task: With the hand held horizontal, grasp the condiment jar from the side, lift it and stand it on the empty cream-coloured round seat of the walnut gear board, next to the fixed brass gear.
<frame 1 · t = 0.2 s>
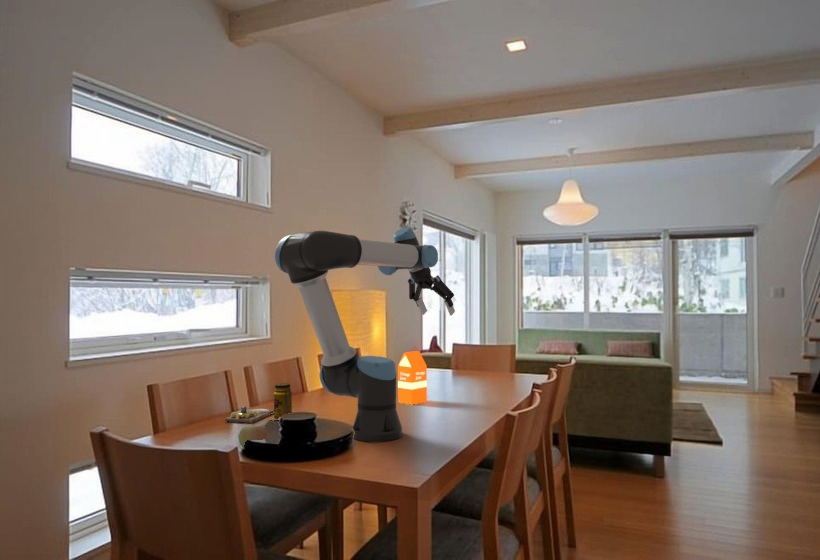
hand: (438, 313, 210), 35 cm above the table, tool tilted 35°, fingers open, 13 cm apart
condiment: (284, 419, 189), on the table
fruit: (253, 449, 151), on the table
orange juice: (412, 402, 216), on the table
gear board: (250, 417, 191), on the table
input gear: (243, 419, 188), resting on gear board
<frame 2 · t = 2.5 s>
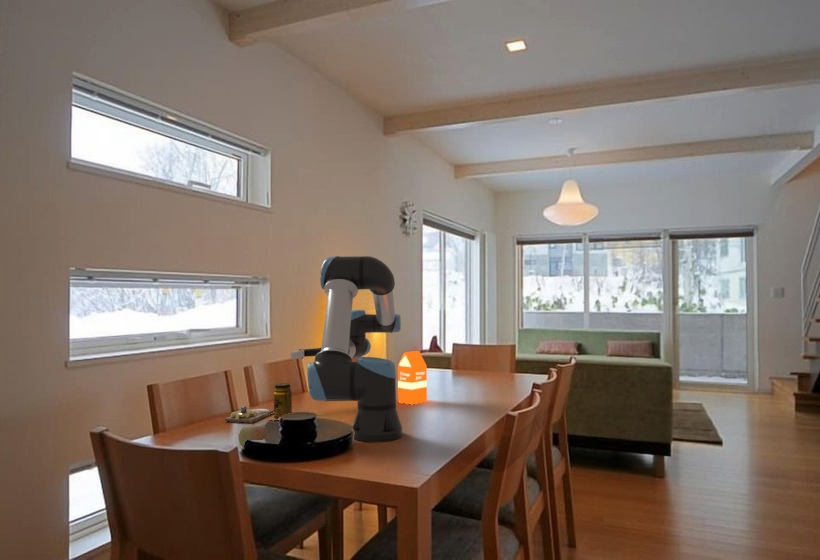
hand: (305, 356, 199), 20 cm above the table, tool horizontal, fingers open, 13 cm apart
nothing on the table moved.
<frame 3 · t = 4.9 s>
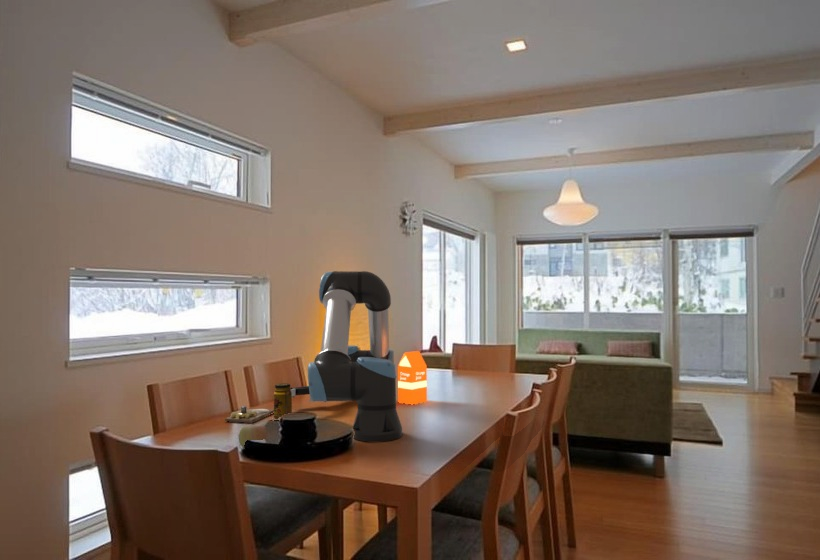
hand: (296, 396, 195), 6 cm above the table, tool horizontal, fingers open, 13 cm apart
nothing on the table moved.
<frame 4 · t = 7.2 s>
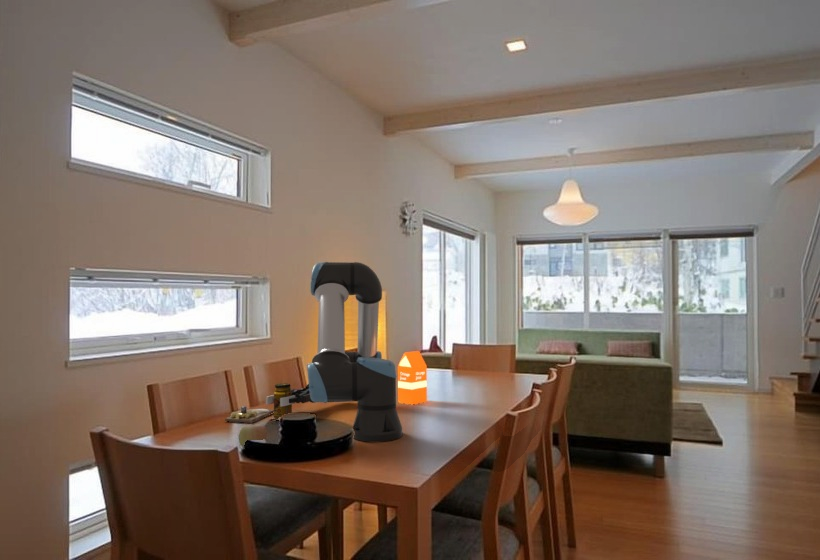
hand: (273, 401, 185), 7 cm above the table, tool horizontal, fingers closed on condiment, 6 cm apart
condiment: (284, 419, 189), on the table, touching gripper
everything else where it was.
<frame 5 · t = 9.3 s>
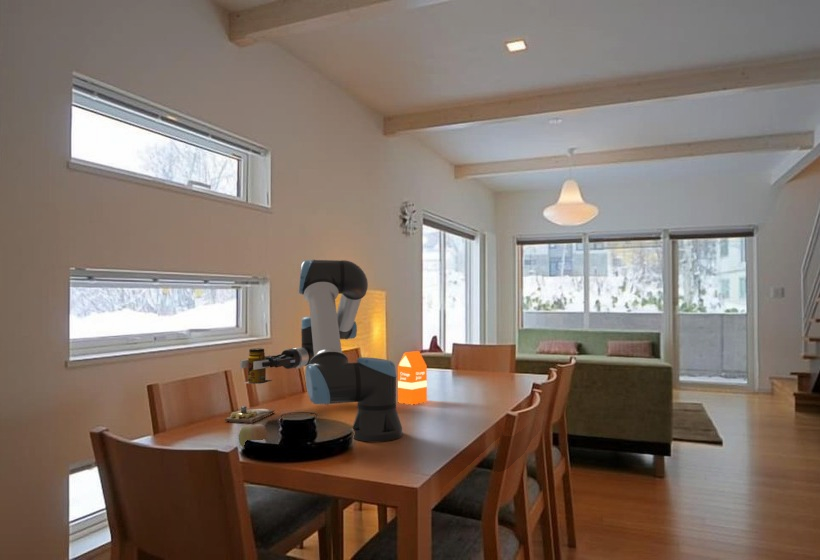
hand: (247, 365, 192), 18 cm above the table, tool horizontal, fingers closed on condiment, 6 cm apart
condiment: (258, 382, 196), point 12 cm above the table, touching gripper
everything else where it was.
when the fingers open (9 cm above the table, at t = 11.3 s): condiment stays where it is, resting on gear board, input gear.
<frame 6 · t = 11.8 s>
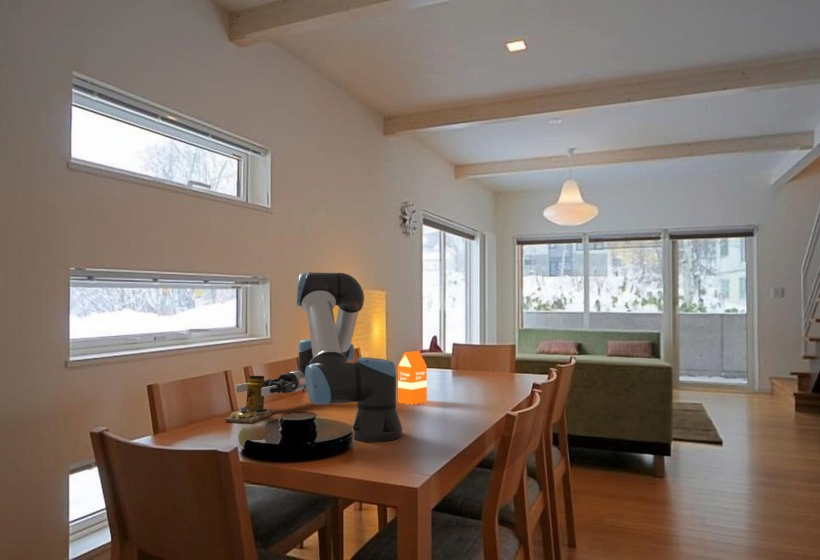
hand: (248, 390, 192), 9 cm above the table, tool horizontal, fingers open, 12 cm apart
condiment: (256, 410, 195), point 2 cm above the table, touching gear board, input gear
everything else where it was.
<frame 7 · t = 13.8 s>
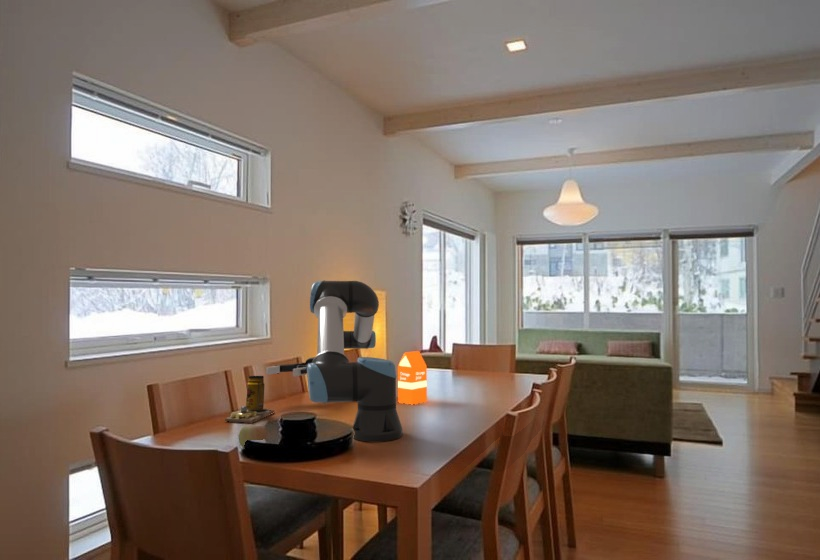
hand: (280, 371, 204), 14 cm above the table, tool horizontal, fingers open, 13 cm apart
nothing on the table moved.
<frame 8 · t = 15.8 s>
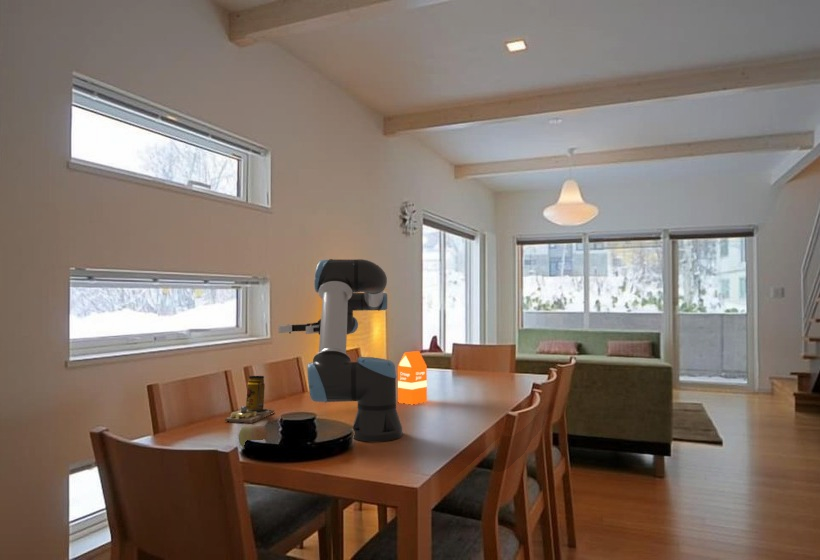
hand: (292, 329, 202), 30 cm above the table, tool horizontal, fingers open, 13 cm apart
nothing on the table moved.
at the end: condiment inside the target area on the gear board (0.5 cm from its centre), point 1.7 cm above the gear board's base; condiment tilted 8°; the gripper is holding nothing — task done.
